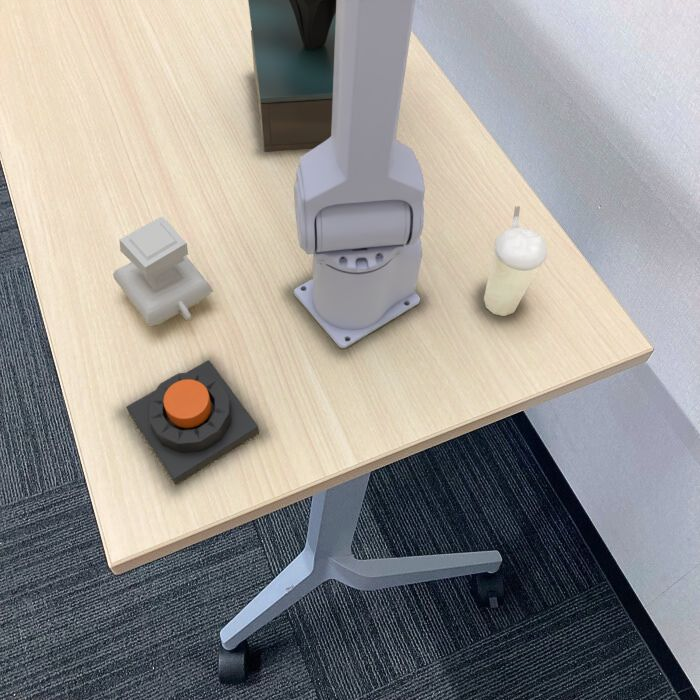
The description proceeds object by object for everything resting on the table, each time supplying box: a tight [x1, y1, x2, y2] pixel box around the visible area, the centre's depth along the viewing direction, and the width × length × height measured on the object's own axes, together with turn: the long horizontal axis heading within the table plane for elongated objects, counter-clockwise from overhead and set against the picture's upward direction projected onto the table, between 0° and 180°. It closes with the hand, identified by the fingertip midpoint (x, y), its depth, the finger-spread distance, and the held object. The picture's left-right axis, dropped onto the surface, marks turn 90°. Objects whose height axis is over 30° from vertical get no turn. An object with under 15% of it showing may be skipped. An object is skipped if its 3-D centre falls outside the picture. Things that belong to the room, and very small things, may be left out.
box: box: [250, 29, 333, 152], centre depth 80 cm, size 13×13×6 cm
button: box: [163, 379, 212, 428], centre depth 58 cm, size 4×4×2 cm
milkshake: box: [483, 205, 548, 317], centre depth 65 cm, size 4×5×10 cm
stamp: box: [112, 215, 214, 327], centre depth 64 cm, size 9×7×8 cm
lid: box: [247, 0, 336, 103], centre depth 76 cm, size 13×13×1 cm
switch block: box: [126, 360, 260, 485], centre depth 59 cm, size 8×8×3 cm
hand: (314, 43), depth 75 cm, fingers closed
